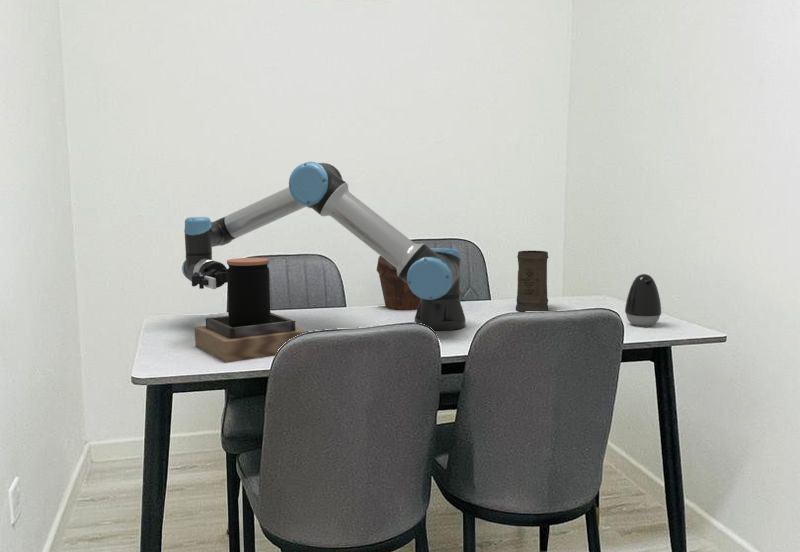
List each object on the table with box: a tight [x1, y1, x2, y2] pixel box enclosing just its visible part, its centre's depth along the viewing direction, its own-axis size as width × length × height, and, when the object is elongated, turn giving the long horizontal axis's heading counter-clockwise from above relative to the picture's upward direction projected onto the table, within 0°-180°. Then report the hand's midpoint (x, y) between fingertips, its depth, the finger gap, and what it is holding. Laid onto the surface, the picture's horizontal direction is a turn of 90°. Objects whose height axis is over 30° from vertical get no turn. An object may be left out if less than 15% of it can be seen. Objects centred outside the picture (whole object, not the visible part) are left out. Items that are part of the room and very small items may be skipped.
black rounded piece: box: [624, 273, 662, 328], centre depth 223 cm, size 10×10×15 cm
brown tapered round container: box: [376, 255, 420, 311], centre depth 257 cm, size 18×20×18 cm
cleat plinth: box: [194, 312, 309, 363], centre depth 196 cm, size 22×22×8 cm
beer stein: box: [515, 250, 549, 313], centre depth 251 cm, size 15×11×20 cm
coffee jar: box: [226, 257, 271, 328], centre depth 195 cm, size 11×11×18 cm
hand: (239, 281), depth 199 cm, fingers open, 13 cm apart
